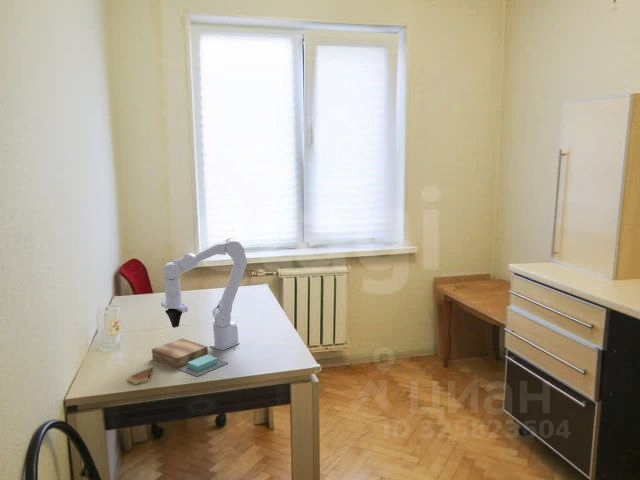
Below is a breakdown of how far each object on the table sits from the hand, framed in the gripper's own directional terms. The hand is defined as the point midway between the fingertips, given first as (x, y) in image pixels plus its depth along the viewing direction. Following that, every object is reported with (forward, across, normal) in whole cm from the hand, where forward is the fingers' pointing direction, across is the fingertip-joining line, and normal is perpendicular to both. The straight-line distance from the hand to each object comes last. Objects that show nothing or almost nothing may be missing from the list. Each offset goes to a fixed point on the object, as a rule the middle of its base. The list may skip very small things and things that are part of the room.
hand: (175, 326), depth 197 cm
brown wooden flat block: (+10, +6, -3) cm, 12 cm away
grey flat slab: (+10, +20, -3) cm, 23 cm away
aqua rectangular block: (+8, +20, -3) cm, 22 cm away
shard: (+11, +9, -22) cm, 26 cm away
